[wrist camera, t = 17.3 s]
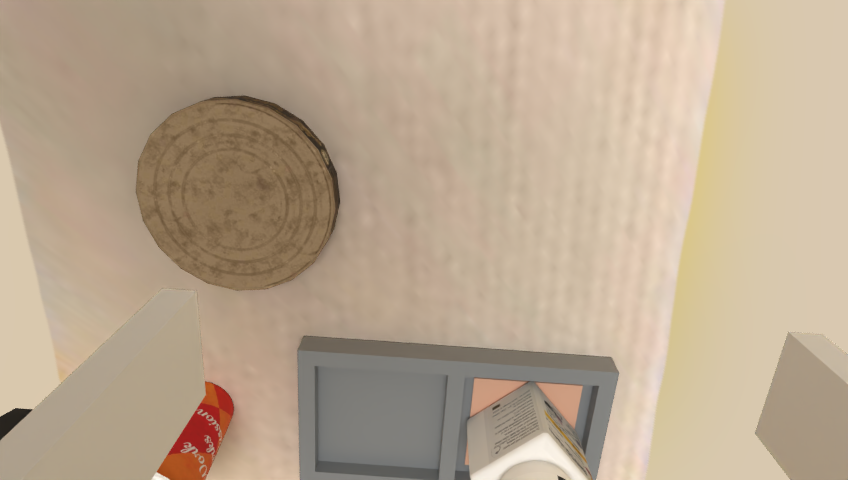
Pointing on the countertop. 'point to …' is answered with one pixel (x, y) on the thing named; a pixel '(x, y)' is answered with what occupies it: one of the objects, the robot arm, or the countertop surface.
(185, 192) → the brown disc
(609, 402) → the two-bay tray
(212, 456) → the paper cup
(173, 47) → the countertop surface
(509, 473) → the container
